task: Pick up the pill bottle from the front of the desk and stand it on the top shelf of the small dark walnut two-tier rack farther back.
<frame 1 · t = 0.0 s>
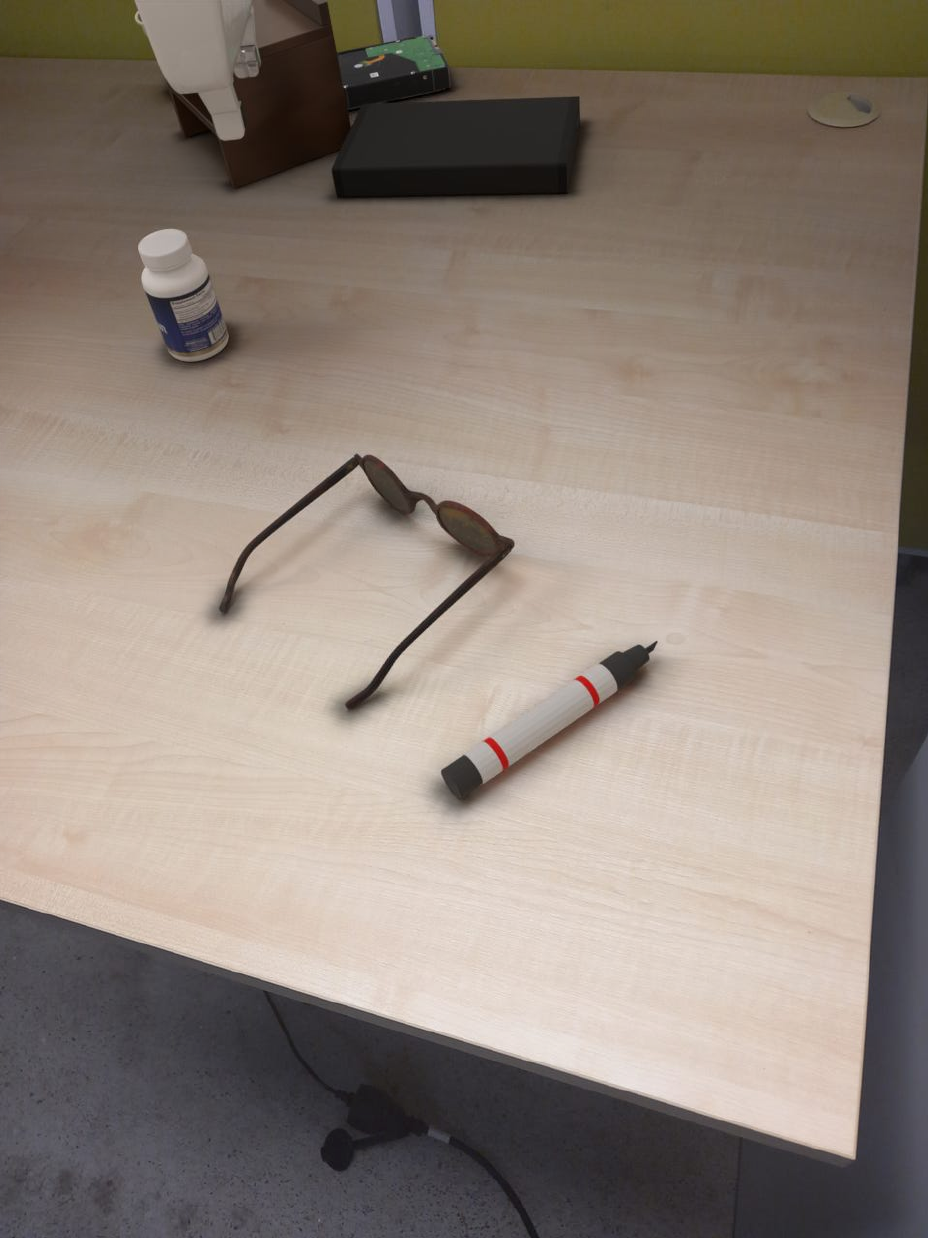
hand: (241, 102, 70), 21 cm above the table, tool pointing down, fingers open, 8 cm apart
eyeglasses: (363, 592, 68), on the table
disk drive: (381, 87, 119), on the table
pill bottle: (199, 346, 89), on the table
external hard drive: (461, 162, 105), on the table
rack: (266, 139, 113), on the table
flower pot: (198, 88, 124), on the table
marker: (558, 722, 60), on the table
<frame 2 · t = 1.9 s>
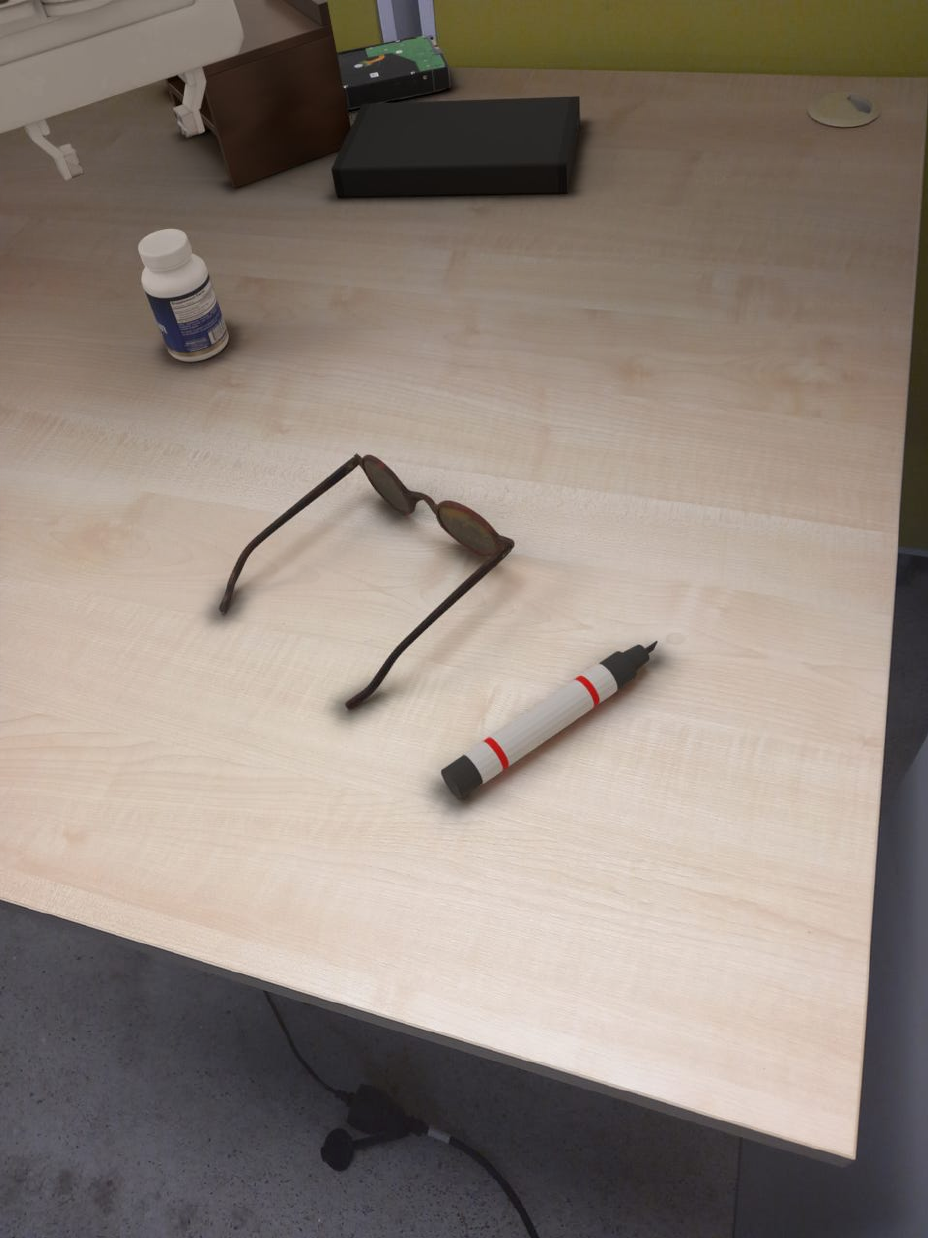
hand: (134, 153, 76), 17 cm above the table, tool pointing down, fingers open, 8 cm apart
nothing on the table moved.
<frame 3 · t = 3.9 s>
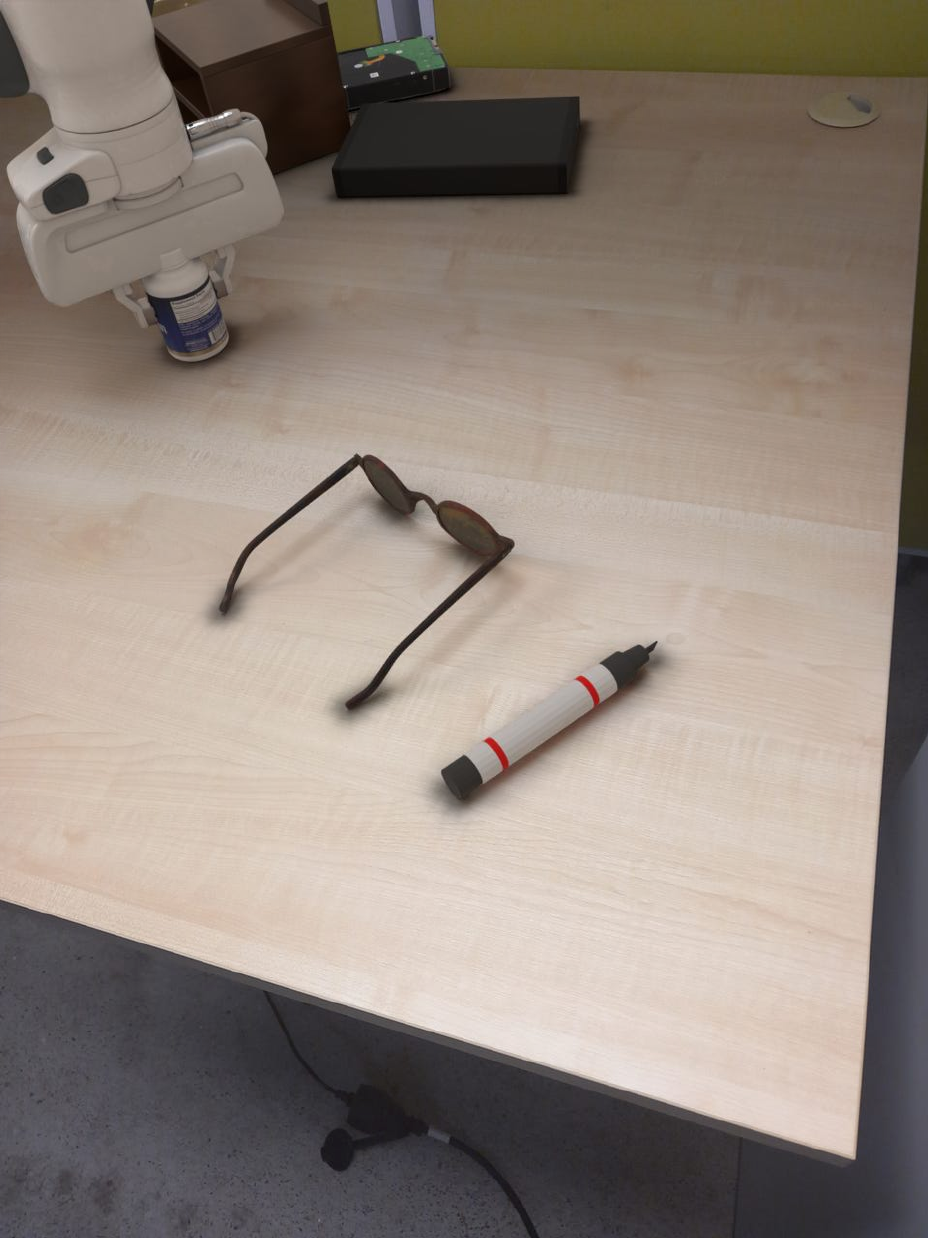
hand: (185, 308, 86), 4 cm above the table, tool pointing down, fingers closed on pill bottle, 5 cm apart
pill bottle: (200, 346, 89), on the table, touching gripper
everything else where it was.
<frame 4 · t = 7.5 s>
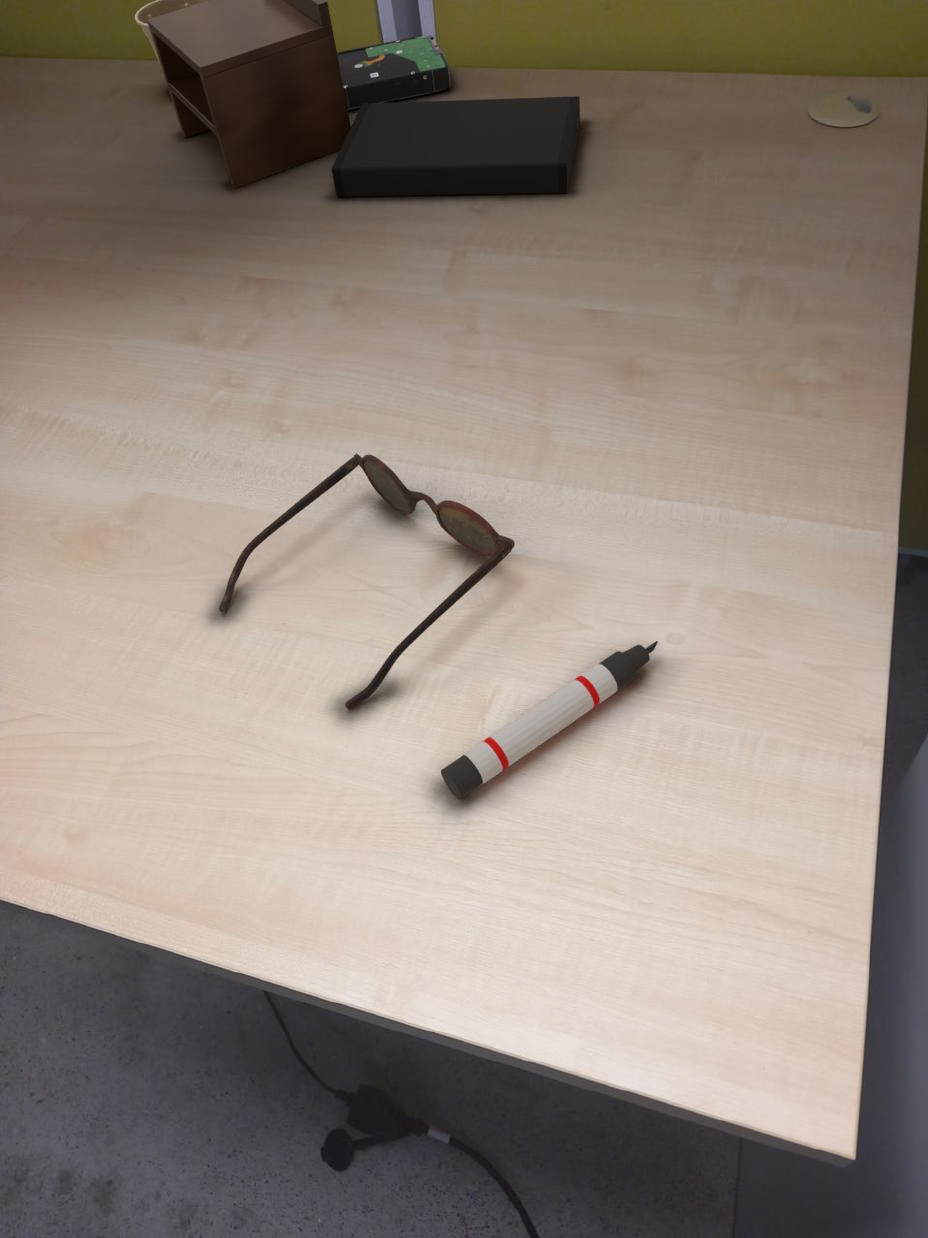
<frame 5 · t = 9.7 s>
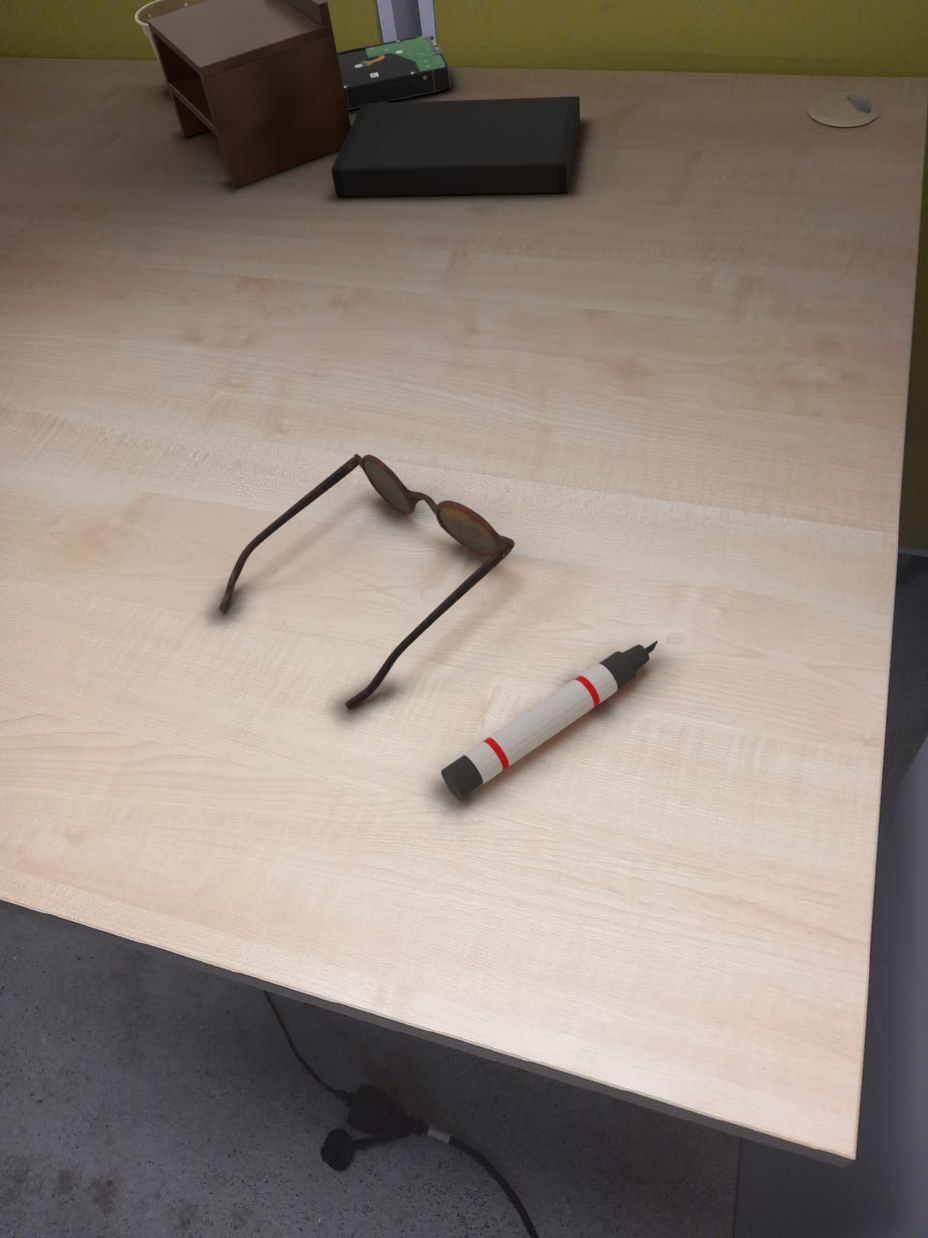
when the fingers open (16 cm above the table, at t = 11.5 s): pill bottle stays where it is, resting on rack.
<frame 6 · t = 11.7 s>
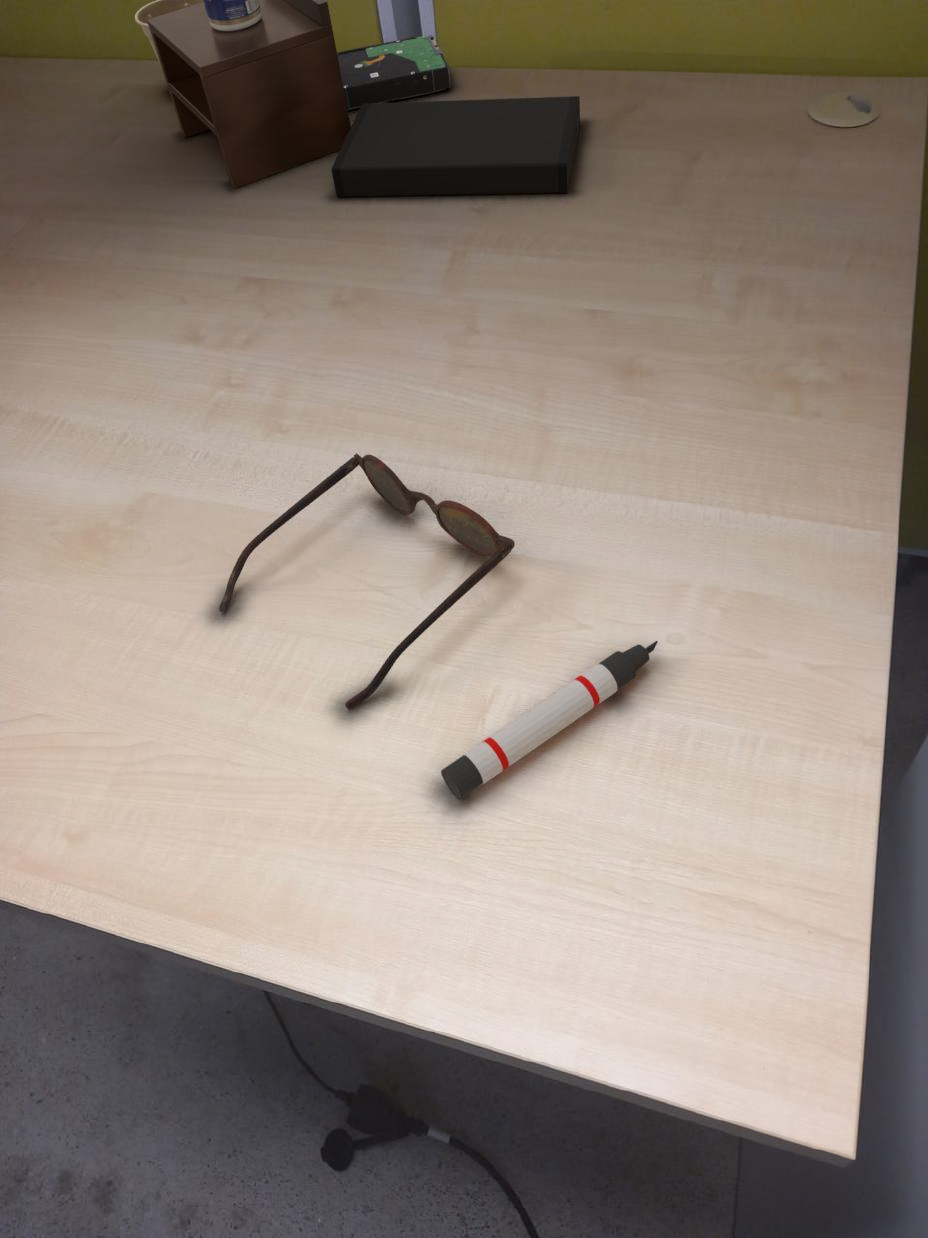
pill bottle: (236, 23, 104), point 12 cm above the table, touching rack
everything else where it was.
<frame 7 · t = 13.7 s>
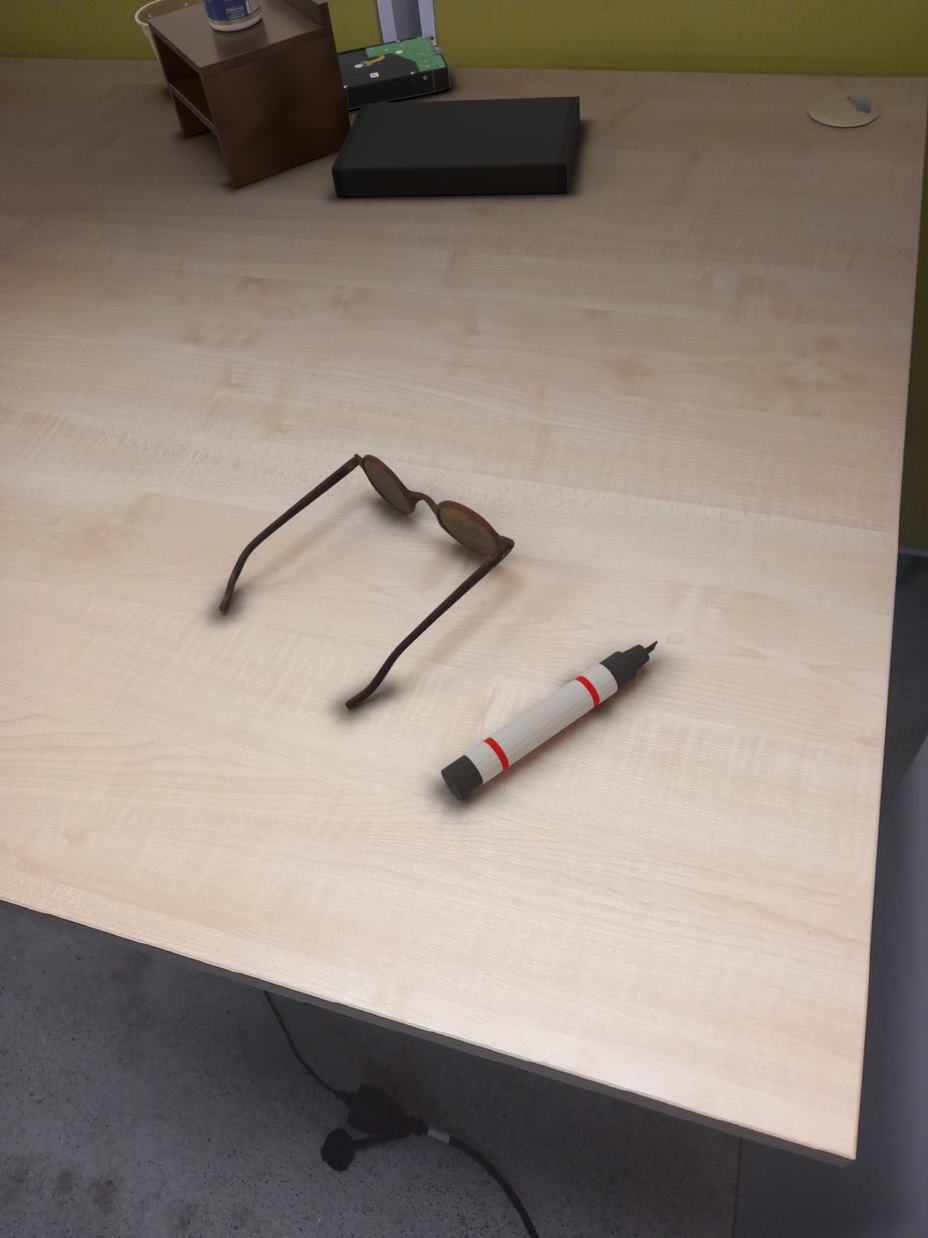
nothing on the table moved.
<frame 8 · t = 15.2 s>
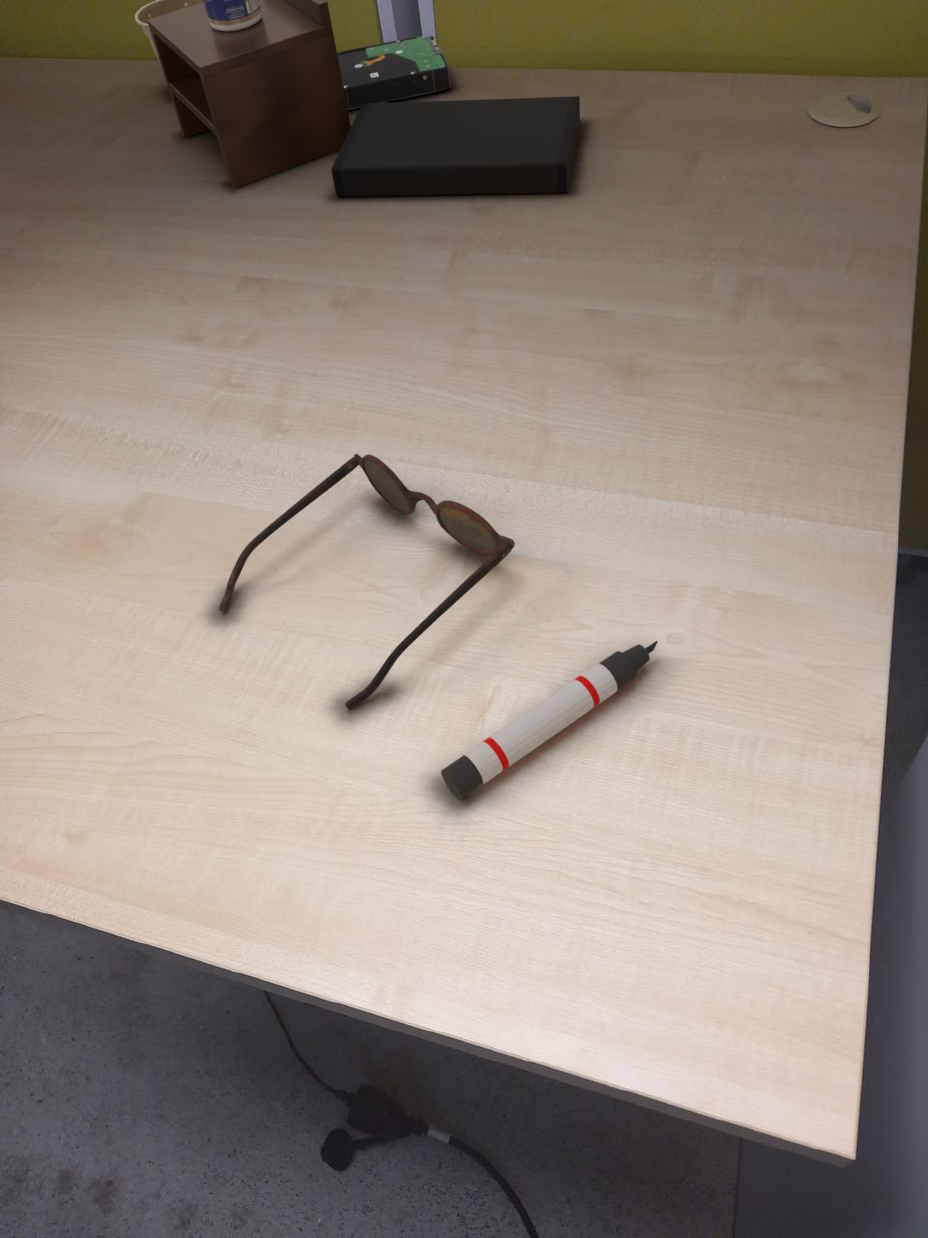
nothing on the table moved.
at the end: pill bottle inside the target area on the rack (0.1 cm from its centre), point 11.8 cm above the rack's base; pill bottle tilted 0°; the gripper is holding nothing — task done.
